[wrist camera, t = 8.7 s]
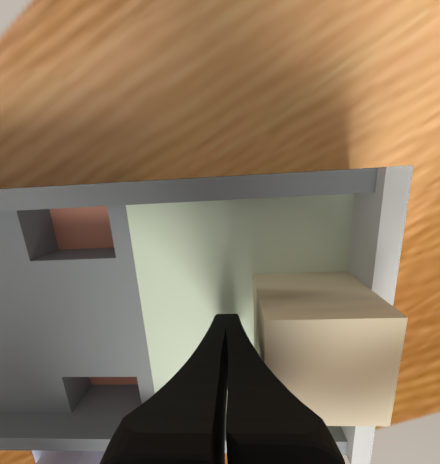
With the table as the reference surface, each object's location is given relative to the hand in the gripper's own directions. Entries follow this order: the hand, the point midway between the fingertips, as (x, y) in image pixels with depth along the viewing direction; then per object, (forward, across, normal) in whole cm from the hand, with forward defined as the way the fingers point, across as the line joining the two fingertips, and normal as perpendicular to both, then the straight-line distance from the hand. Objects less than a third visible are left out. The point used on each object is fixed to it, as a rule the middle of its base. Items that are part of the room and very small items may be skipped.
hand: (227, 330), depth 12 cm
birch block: (+1, -4, 0) cm, 4 cm away
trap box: (+3, +6, 0) cm, 7 cm away
